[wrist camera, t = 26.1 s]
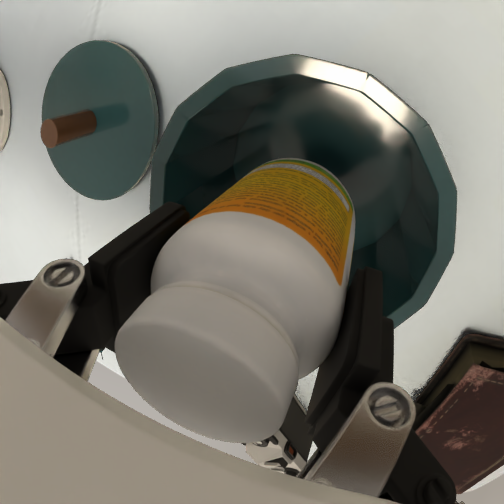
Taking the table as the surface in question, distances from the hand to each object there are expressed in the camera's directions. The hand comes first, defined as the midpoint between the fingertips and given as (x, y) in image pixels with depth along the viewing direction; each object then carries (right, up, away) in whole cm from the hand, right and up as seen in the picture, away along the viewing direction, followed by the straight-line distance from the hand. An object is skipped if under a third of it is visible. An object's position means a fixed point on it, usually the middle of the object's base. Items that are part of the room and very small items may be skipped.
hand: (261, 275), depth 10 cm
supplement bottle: (+2, +2, +4) cm, 5 cm away
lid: (-14, +12, +14) cm, 23 cm away
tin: (+4, +6, +11) cm, 13 cm away
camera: (+2, -17, +25) cm, 30 cm away
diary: (+24, -18, +17) cm, 35 cm away
